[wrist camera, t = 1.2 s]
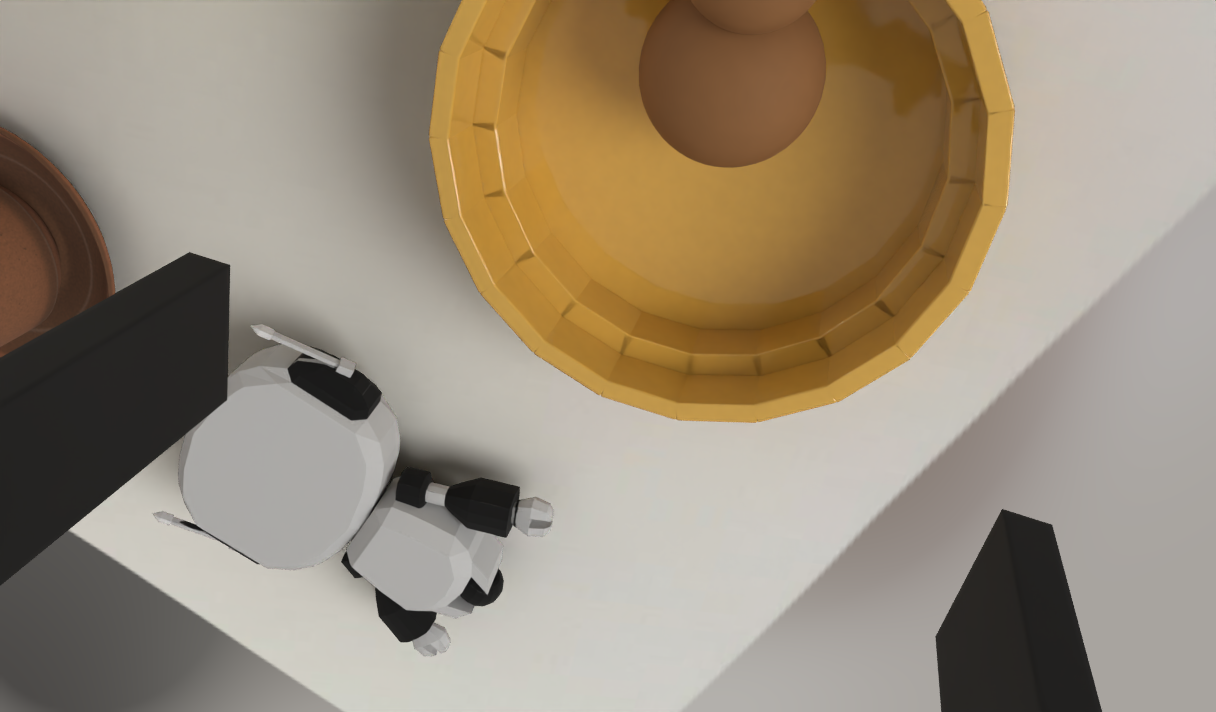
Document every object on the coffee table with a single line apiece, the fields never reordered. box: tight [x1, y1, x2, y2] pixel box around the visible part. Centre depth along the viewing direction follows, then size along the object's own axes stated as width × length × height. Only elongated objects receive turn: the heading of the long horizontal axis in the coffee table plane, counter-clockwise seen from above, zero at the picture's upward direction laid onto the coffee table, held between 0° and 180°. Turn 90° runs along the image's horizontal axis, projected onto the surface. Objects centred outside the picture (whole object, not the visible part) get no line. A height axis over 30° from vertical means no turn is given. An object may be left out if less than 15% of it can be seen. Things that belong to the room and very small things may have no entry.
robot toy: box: [152, 324, 554, 656], centre depth 42 cm, size 12×4×15 cm
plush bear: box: [639, 0, 826, 168], centre depth 28 cm, size 6×6×10 cm
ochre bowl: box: [429, 0, 1015, 423], centre depth 31 cm, size 17×17×5 cm
